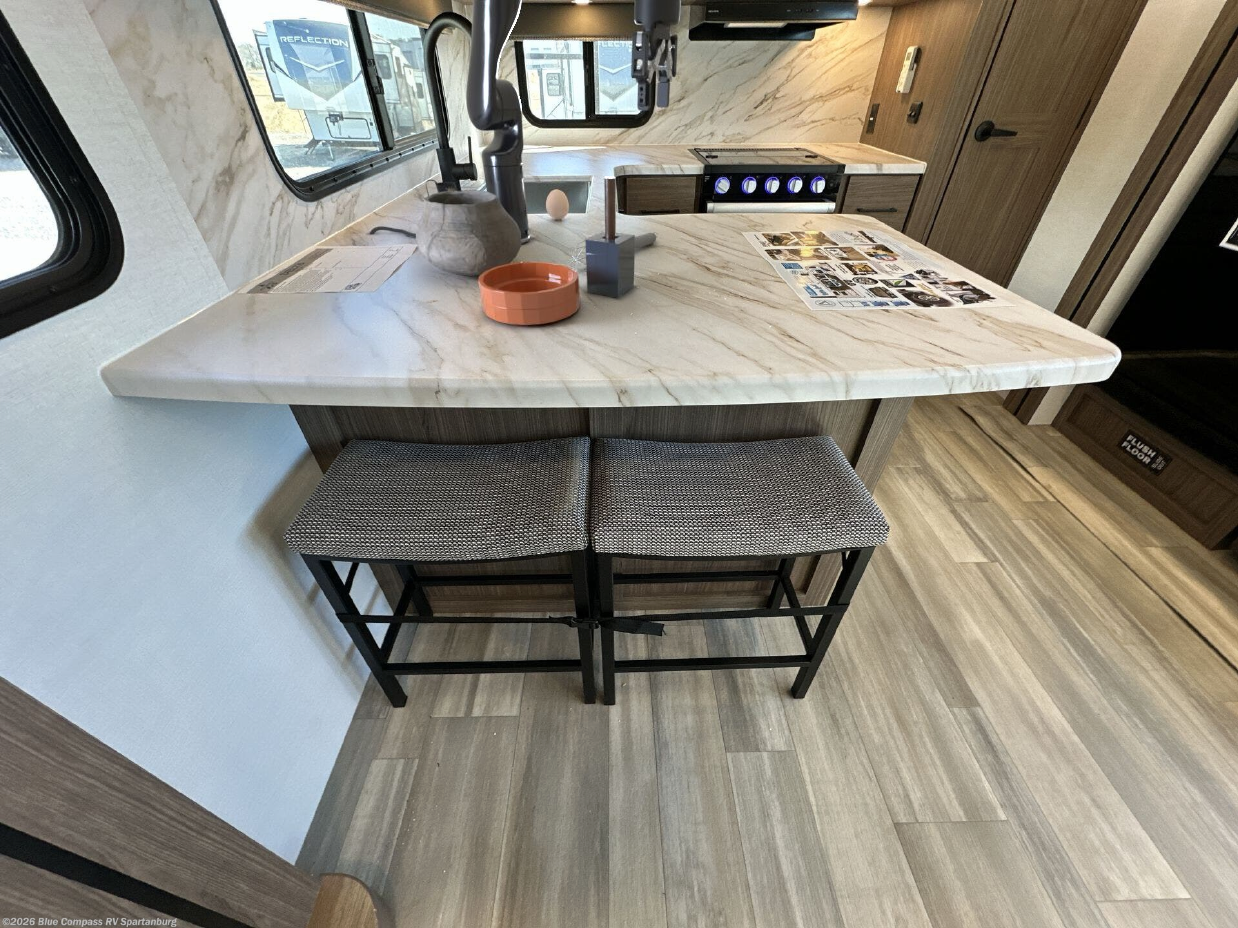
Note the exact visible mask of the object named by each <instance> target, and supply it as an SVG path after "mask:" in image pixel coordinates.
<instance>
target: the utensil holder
mask: <svg viewBox="0 0 1238 928" xmlns="http://www.w3.org/2000/svg"><path fill="white" fill-rule="evenodd" d="M635 237H636V235H635V234H628V233H623V232H622V233H620V232H616V239H614V240H611V239H605V230H602V231H600V232H598V233H596V234H594V235H592V236H589V237H587V238H585V240H584V242H585V246H586V248H585V257H586V258H585V264H586V265H585V266H586V267H585V271H587V272H586V292H587V293H590V294H594V295H601V296H605V297H612V298H617V299H619V298H620V297H622V296H623V295H625V294H626V293H628V292H629V291H630V290H632V289H634V287H635V250H636V249H635Z"/></svg>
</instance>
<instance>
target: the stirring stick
mask: <svg viewBox="0 0 1238 928" xmlns="http://www.w3.org/2000/svg"><path fill="white" fill-rule="evenodd" d="M603 180H604V183H603V184H604V186H603V187H604V231H605V239H611V240H614V239H616V233H617V232H616V231H617V229H616V228H617V225H616V224H617V223H616V222H617V220H616V212H617V209H616V208H617V204H616V202H617V201H616V200H617V199H616V198H617V195H616V194H617V193H616V192H617V191H616V190H617V189H616V185H617V182H616V177H615V176H605V177H604V179H603Z"/></svg>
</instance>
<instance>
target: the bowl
mask: <svg viewBox="0 0 1238 928" xmlns="http://www.w3.org/2000/svg"><path fill="white" fill-rule="evenodd" d="M579 278H580V277H579V273H578V270H576V269H574V268H573V267H571V266H569V265H566V264H562V263H557V262H551V261H539V260H538V261H536V260H534V261H518V262H511V263H510V264H505V265H501V266H497V267H494V268H492V269H489V270H487V271H485V272H484V273H483V274H481V275H479V276H478V281H477V282H478V288H479V294H480V300H481V307H482V312H483V313H484V314H485V315H486V317H488V318H489V319H492V320H493V321H495V322H500V323H504V324H509V325H519V326H520V325H521V326H528V325H529V326H530V325H531V326H532V325H544V324H548V323H549V324H550V323H554V322H558V321H561V320H563V319H567V318H569V317H570V316H572V315H574V314H575V313H577V311H578V310H579V308H580V307H581V302H580V301H581V300H580V299H581V298H580V281H579Z"/></svg>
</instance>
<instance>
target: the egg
mask: <svg viewBox="0 0 1238 928" xmlns="http://www.w3.org/2000/svg"><path fill="white" fill-rule="evenodd" d="M545 207H546V212H547V214H548V216H550V217H551V218H552V219H553V220H556V221H561V220H563V219H564V218H565V217H566V216H567V215H568V213H569V211H570V203H569V200H568V197H567V195H566V194H565V192H564V191H562V190H560V189H553V190H551V191H550V192H549V194H548V195H547V197H546V200H545Z"/></svg>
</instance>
